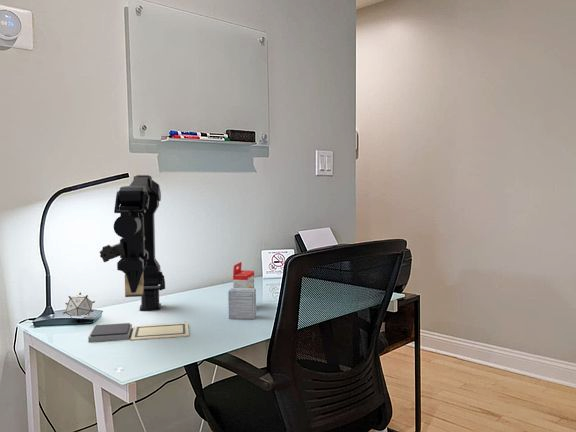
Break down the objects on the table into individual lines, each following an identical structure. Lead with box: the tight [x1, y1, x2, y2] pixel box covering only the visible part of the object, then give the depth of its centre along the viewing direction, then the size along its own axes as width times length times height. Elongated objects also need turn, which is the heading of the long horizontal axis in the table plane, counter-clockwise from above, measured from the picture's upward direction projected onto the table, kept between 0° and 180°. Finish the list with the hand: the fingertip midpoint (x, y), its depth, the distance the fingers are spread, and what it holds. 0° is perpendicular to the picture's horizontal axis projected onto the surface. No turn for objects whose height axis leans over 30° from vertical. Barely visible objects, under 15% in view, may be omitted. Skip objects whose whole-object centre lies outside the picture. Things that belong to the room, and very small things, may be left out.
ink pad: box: [87, 322, 133, 343], centre depth 133 cm, size 10×10×2 cm
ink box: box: [232, 261, 255, 288], centre depth 161 cm, size 8×5×15 cm, turn 168°
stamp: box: [124, 273, 144, 298], centre depth 134 cm, size 4×4×6 cm
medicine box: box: [227, 287, 257, 320], centre depth 150 cm, size 8×4×9 cm, turn 84°
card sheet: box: [129, 322, 190, 341], centre depth 136 cm, size 12×15×1 cm
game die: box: [62, 292, 96, 317], centre depth 147 cm, size 9×8×10 cm
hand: (134, 290), depth 134 cm, fingers closed on stamp, 4 cm apart
